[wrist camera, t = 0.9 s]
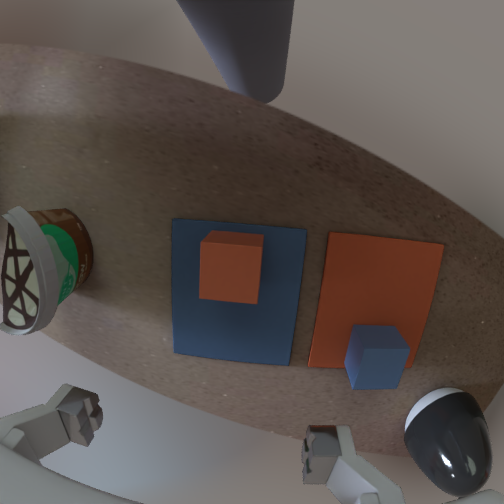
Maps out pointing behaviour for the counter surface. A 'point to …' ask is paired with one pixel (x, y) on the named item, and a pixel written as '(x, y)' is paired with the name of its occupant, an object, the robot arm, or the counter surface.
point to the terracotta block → (231, 266)
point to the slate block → (375, 357)
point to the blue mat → (233, 313)
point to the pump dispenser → (450, 441)
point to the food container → (41, 266)
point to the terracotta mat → (373, 292)
